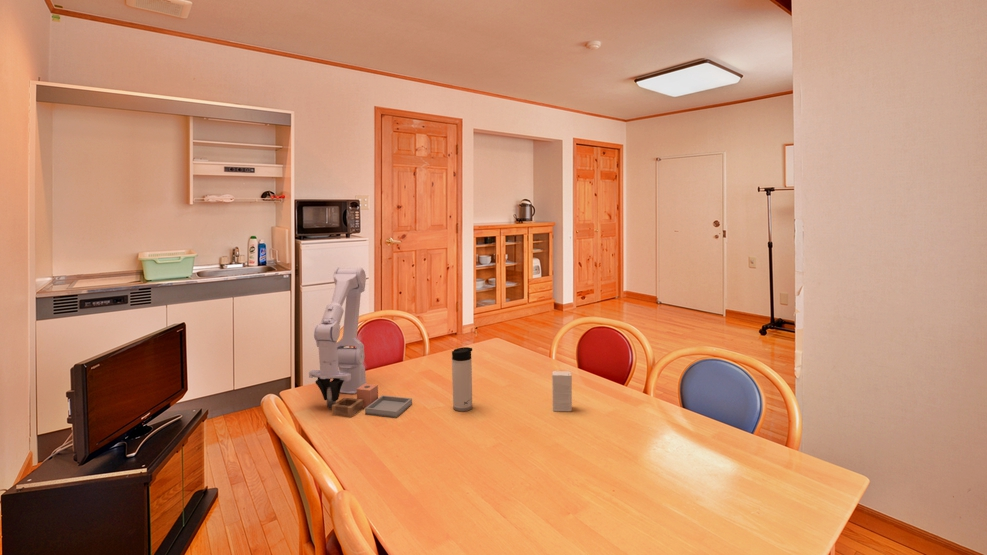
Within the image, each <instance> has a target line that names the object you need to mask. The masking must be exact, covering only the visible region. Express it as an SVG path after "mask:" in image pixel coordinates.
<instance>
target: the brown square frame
mask: <svg viewBox="0 0 987 555" xmlns="http://www.w3.org/2000/svg"><path fill="white" fill-rule="evenodd" d="M364 409H365V407H364V405H363V399H357V398H353V397H343V398H341V399H340V400H337V401H336V403H335V404H334V405H332V408H331V415H332V416H338V417H348V418H353V417H354V416H355V415H357V414H358V413H360V412H361V411H362V410H364Z"/></svg>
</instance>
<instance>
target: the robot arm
mask: <svg viewBox="0 0 987 555" xmlns="http://www.w3.org/2000/svg"><path fill="white" fill-rule="evenodd" d="M366 277H367V275H366V271H365V270H364V268H363V267H359V268H358V267H357V268H356V267H352V268H351V267H337V268H335V270H334V272H333V283H334V285H335V286H334V287H335V288H334V290H333V296H332V297H331V298H332V299H331V303H329V304H328V305H326V307H325V310H324V312H323V316H322V318H321V322H320V323H319V324H318V325H316V326H315V328H314V332H313V337H314V340H315V343H316V344H315V345H316V347H317V348H318V359H319V370H313V369H312V370H311V371H310V370H309V372H308V378H311V379H313V378H317V380H315V382H314V383H315V384H316V386H317V387H318V389H319V391H320V392H321V395H322V397H323V400H324V401H327V395H326V386H328V385H330V387H331V390H332V399H333V401H336V402H338V401H339V397H340V394H349V395H350V394H351V395H355V394H357V392H356V389H357V388H359V387H360V386H362V385H363V384H368V383H367V382H366V381H367V379H366V367H365V365H364V364H363V363H364V361H365V358H366V357H365V345H364V344H363V342H361V340H359V339H358V329H359V328H358V327H359V318H360V306H361V305H360V304H361V296H362V295H361V294H362V293H364V292H365V290H366V289H365V288H366V281H367V278H366ZM344 302H345V307H344V308H343V304H344ZM344 309H345V310H344ZM343 315H344V317H343ZM342 317H343V318H344V319H343V328H342V329H343V330H342V331H343V332H342V338H341V339H340V340H339V338H340V333H341V325H340V324H341V320H342Z"/></svg>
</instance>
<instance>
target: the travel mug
mask: <svg viewBox="0 0 987 555" xmlns="http://www.w3.org/2000/svg"><path fill="white" fill-rule="evenodd" d="M472 351H473V347H468V346H465V347H457V348H455V349H453V351H451V372H452V376H451V377H452V405H453V407H452V408H453V410H455V411H457V412H468V411H471V410H472V409H473V374H472V372H473V371H472V369H473V368H472V366H473V365H472V363H473V361H472Z"/></svg>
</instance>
